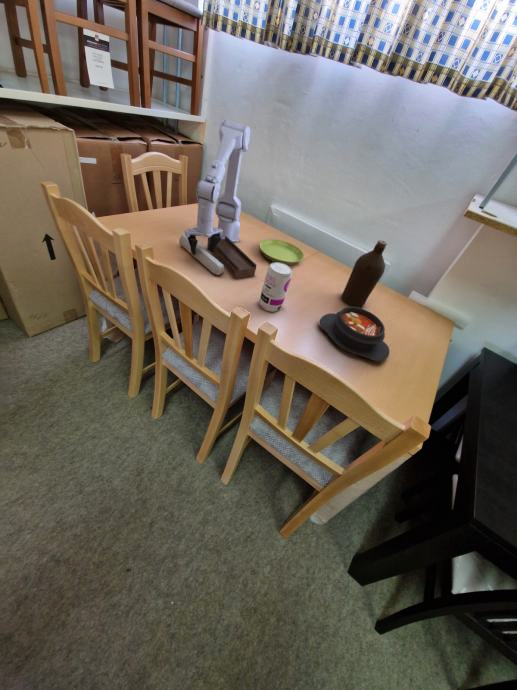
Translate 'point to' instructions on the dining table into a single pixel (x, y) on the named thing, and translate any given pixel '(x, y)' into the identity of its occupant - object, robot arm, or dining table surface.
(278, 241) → the saucer
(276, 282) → the supplement can
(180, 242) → the grey octagonal prism
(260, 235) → the dining table surface
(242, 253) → the dark brown tray
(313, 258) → the dining table surface
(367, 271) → the olive oil
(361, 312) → the casserole
